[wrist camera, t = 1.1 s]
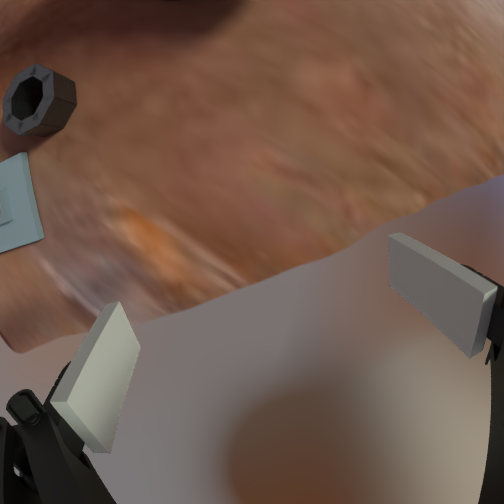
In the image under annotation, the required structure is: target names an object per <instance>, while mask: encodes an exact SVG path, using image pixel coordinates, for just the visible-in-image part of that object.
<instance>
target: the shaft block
mask: <svg viewBox="0 0 504 504" xmlns="http://www.w3.org/2000/svg"><path fill="white" fill-rule="evenodd" d="M42 238H44V233H43V229H42V226H41V222H40V218H39V214H38V210H37V205H36V201H35V196H34V191H33V186H32V181H31V176H30V170H29V164H28V157H27V152H20V153H18V154H16V155H14V156H13V157H11V158H9V159H7V160H5V161H3V162H1V163H0V253H1V252H4V251H7V250H10V249H13V248H16V247H19V246H22V245H25V244H28V243H31V242H35V241H38V240H40V239H42Z"/></svg>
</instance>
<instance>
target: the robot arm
mask: <svg viewBox="0 0 504 504" xmlns="http://www.w3.org/2000/svg"><path fill="white" fill-rule="evenodd" d="M388 252H389V286H391V287H392V288H393V289H394V290H395V291H396V292H398V293H399V294H400V295H401V296H402V297H403V298H404V299H406V300H407V301H408V302H409V303H410V304H411V305H413V306H414V307H415V308H416V309H417V310H418V311H419V312H420V313H422V314H423V315H424V316H425V317H426V318H427V319H428V320H429V321H430V322H432V323H433V324H434V325H435V326H436V327H437V328H438V329H439V330H440V331H441V332H442V333H443V334H445V335H446V336H447V337H448V338H449V339H450V340H451V341H452V342H453V343H454V344H455V345H456V346H457V347H459V349H460V350H462V351H463V352H464V353H465V354H466V355H467V356H468V357H469V358H471V357H472V356H474V355H476V354H477V353H479V352H481V351H482V350H483V348H484V344H485V340H486V337H487V338H488V339H489V340H491V341H492V342H491V346H490V349H489V352H488V355H487V358H486V362H485V365H487V364H488V361H489V360H490V362H491V421H490V435H489V444H488V453H487V460H486V467H485V474H484V479H483V484H482V489H481V493H480V498H479V502H478V504H504V287H503V286H501V285H499V284H498V283H496V282H495V281H493V280H491V279H490V278H488V277H486V276H483V274H481V273H479V272H477V271H476V270H474V269H473V268H471V267H469V266H466V265H462V264H459V263H457V262H455V261H453V260H452V259H449V258H448V257H446V256H444V255H443V254H441V253H439V252H437V251H435V250H433V249H432V248H429V247H428V246H426V245H424V244H422V243H420V242H418V241H416V240H415V239H413V238H411V237H409V236H407V235H405V234H403V233H400V232H399V233H396V234H392V235H388ZM140 348H141V347H140V345H139V343H138V341H137V339H136V337H135V335H134V332H133V330H132V328H131V326H130V324H129V321H128V319H127V317H126V315H125V313H124V310H123V308H122V306H121V303H120V301H117V302H113V303H108V304H106V305H105V307H104V308H103V310H102V311H101V313H100V314H99V316H98V318H97V319H96V321H95V322H94V324H93V326H92V327H91V329H90V331H89V332H88V334H87V336H86V337H85V339H84V340H83V342H82V344H81V346H80V347H79V349H78V351H77V353H76V354H75V356H74V358H73V360H72V361H70V362H69V363H68V364H67V365H66V366H65V367H64V368H63V370H62V371H61V373H60V375H59V376H58V379H57V380H56V382H55V384H54V385H55V386H53V387H52V389H51V391H50V393H49V395H48V397H47V399H46V401H45V402H44V404H43V405H42V404H41V403H40V401H39V400H38V398H37V397H36V396H35V394H34V393H33V392H32V390H29V389H24V390H21V391H19V392H17V393H16V394H15V395H13V396H12V397H11V398H10V400H9V401H8V403H7V406H6V410H7V411H8V412H9V414H10V415H11V416H12V417H13V418H14V420H15V421H16V422H17V423H18V425H14V426H11V425H10V424H9V422H7V420H6V419H5V418H4V417H0V504H116V502H115V501H114V499H113V498H112V496H111V495H110V493H109V492H108V490H107V488H106V487H105V485H104V484H103V482H102V480H101V479H100V477H99V476H98V474H97V472H96V470H95V469H94V467H93V465H92V464H91V462H90V460H89V458H88V456H87V455H86V454H85V453H84V452H83V451H82V450H83V447H84V444H86V445H87V446H88V447H89V448H90V449H91V450H92V452H93V453H111V448H112V444H113V441H114V437H115V433H116V429H117V425H118V421H119V418H120V414H121V411H122V407H123V404H124V400H125V397H126V393H127V390H128V386H129V383H130V380H131V377H132V373H133V370H134V367H135V364H136V360H137V358H138V354H139V351H140ZM14 467H15V468H16V469H18V470H19V471H20V476H17V475H16V474H15V472H14Z"/></svg>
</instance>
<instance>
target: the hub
mask: <svg viewBox="0 0 504 504" xmlns="http://www.w3.org/2000/svg"><path fill="white" fill-rule="evenodd" d="M42 93H43V99H42V101H41V102H40V104H39V106H38V108H37V110H36V104H37V102H38V100H39V98H40V96H41V95H42ZM76 106H77V101H76V90H75V82H74V81H72V80H70V79H68V78H66V77H65V76H63V75H61V74H59V73H57V72H55V71H53V70H51V69H49V68H46V67H44V66H42V65H40V64H38V63H35V64H34V65H32V66H30V67H28V68H26V69H25V70H23V71H21V72H20V73H18V74H16V75H15V77H14V79H13V81H12V82H11V84H10V86H9V88H8V90H7V92H6V94H5V96H4V98H3V123H4V125H5V126H7V127H8V128H9V129H11V130H12V131H13V132H15V133H16V134H18V135H29V136H46V135H49V134H51V133H53V132H55V131H58V130H60V129H62V128H64V126H65V125H66V123H67V121H68V119H69V118H70V116H71V114H72V112H73V111H74V109H75V107H76Z"/></svg>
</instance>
